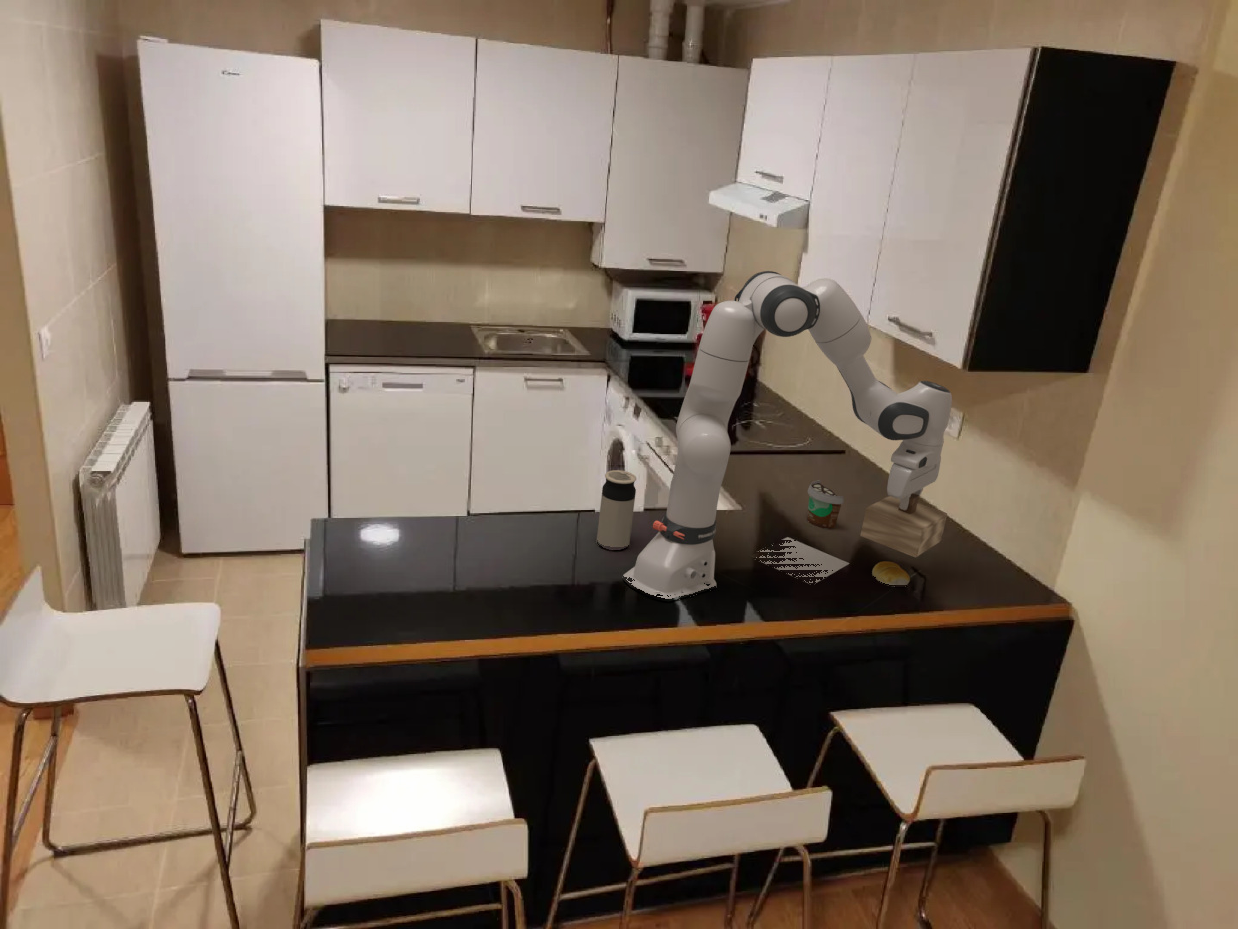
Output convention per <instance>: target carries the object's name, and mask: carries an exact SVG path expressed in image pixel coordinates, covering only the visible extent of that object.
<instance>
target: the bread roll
mask: <svg viewBox="0 0 1238 929" xmlns="http://www.w3.org/2000/svg"><path fill="white" fill-rule="evenodd" d="M871 572H872V573H871V574H872V575H871V576H872V577H873V576H874V577H876V578H875V580H877V582H879V581H880V582H879V583H881V582H882V583H881V584H883V583H885V584H889V585H907V586H908V584H909V582H910V581H911V578H910V575H909V574H908V572H907V571H906V570H904V569H903V568H901V567H900V565H899V564H897V563H895V562H892V561H888V560H887V561H880V562H878V563H876V564H875V565H874V567H873V568H872V571H871ZM874 577H873V578H874ZM885 584H884V585H885ZM889 585H888V586H889Z"/></svg>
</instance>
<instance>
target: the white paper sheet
mask: <svg viewBox="0 0 1238 929" xmlns="http://www.w3.org/2000/svg"><path fill="white" fill-rule="evenodd" d="M782 540H791V541H792V542H790V543H788V542H789V541H788V542H787V543H786V541H785V543H784V544H783V543H782V544H783V545H780V544H779V545H780V546H795V547H796V548H795V547H794V548H793V547H791V548H790V547H789V548H790V549H789V548H785V549H784V550H783V549H782V550H780V551H774V550H771V551H770V550H768V549H767V550H765V551H764V550H762V549H760V550H759V551H760V552H772V551H773V552H786V553H785V556H784V555H783V556H784V557H783V556H779V557H778V556H777V557H778V558H785V559H786V558H791V559H792V558H797V559H796V560H797V561H796V560H794V559H793V560H794V561H795V562H794V561H792V560H791V561H790V560H788V559H786V560H785V561H783V560H782V561H783V562H782V561H780V562H779V563H777V562H775V561H774V562H775V563H774V562H772V561H770V560H769V561H770V562H769V561H767V562H765V561H764V562H765V563H764V562H762V561H761V560H760V561H761V562H760V561H759V562H760V563H763V564H765V565H767V564H772V563H773V564H804V565H805V564H810V565H811V564H814V565H815V564H816V565H817V564H819V565H820V566H819V565H817V566H816V565H815V566H816V567H815V566H813V565H811V566H810V565H809V567H808V566H807V565H806V566H804V565H803V567H802V566H800V565H799V566H800V567H799V566H797V567H798V568H797V567H796V566H795V567H796V568H797V569H796V568H795V567H793V566H791V565H790V566H791V567H789V566H787V565H786V566H787V567H786V566H785V568H784V567H783V566H781V567H782V568H781V567H779V568H778V567H777V568H775V567H774V569H775V570H778V571H780V570H822V571H821V572H822V573H821V572H820V574H819V573H817V574H816V575H814V574H813V573H812V574H813V575H814V576H815V577H823V579H822V580H824V579H825V578H824V577H826V578H828V577H829V576H830V575H832V574H834V573H836V572H837V571H839V570H841V569H843V568H844V567H846V566H848V565H849V564H850V563H849V562H848V561H845V560H842V559H840V558H838V557H835V556H833V555H831V554H828V553H826V552H824V551H821V550H819V549H817V548H815V547H812V546H809V545H807V544H805V543H803V542H800V541H798V540H796V541H794V540H795V539H793V538H791V537H788V536H787V537H785V538H783V539H782ZM771 545H772V544H771ZM772 546H773V545H772ZM761 550H762V551H761ZM759 551H757V552H759ZM787 552H792V553H791V554H789V553H788V554H787ZM796 552H797V553H796ZM768 554H769V553H768ZM762 556H763V555H762ZM762 556H760V557H759V558H766V557H765V556H763V557H762ZM768 556H769V555H767V558H773V557H774V558H777V557H775V556H776V555H775V556H773V557H771V556H769V557H768ZM756 558H757V557H756ZM799 558H803V559H804V560H803V559H799ZM771 562H772V563H771ZM821 564H822V565H821ZM824 570H828V571H827V572H828V573H827V572H825V571H824ZM832 570H833V571H832ZM823 571H824V572H823ZM816 572H817V571H816ZM814 573H815V572H814ZM825 573H826V574H825ZM792 574H793V573H792ZM792 574H789V573H788V574H787V575H789V576H791V577H793V576H792ZM799 574H800V573H799ZM809 574H810V573H809ZM812 574H810V575H811V576H810V575H808V574H807V575H808V576H809V577H814V576H812ZM794 575H795V574H794ZM803 575H804V574H803ZM798 576H799V575H798ZM798 576H796V577H798ZM801 576H802V575H801ZM801 576H799V577H801ZM808 576H806V575H804V576H802V577H808ZM796 577H795V578H796ZM810 580H811V579H810ZM804 581H805V580H804ZM804 581H803V582H804ZM815 582H816V583H817V584H818V582H821V580H820V579H819V580H817V579H816V581H815ZM804 583H807V584H809V583H813V581H812V582H810V581H809V583H808V582H806V581H805V582H804ZM816 583H815V584H816Z"/></svg>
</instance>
